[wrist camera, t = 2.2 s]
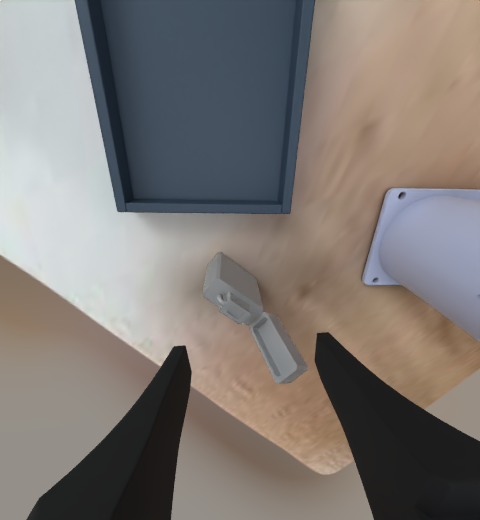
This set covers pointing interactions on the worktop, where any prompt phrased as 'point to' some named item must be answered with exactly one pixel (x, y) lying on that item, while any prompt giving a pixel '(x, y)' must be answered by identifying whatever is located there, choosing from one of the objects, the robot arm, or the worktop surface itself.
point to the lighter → (252, 316)
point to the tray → (199, 100)
